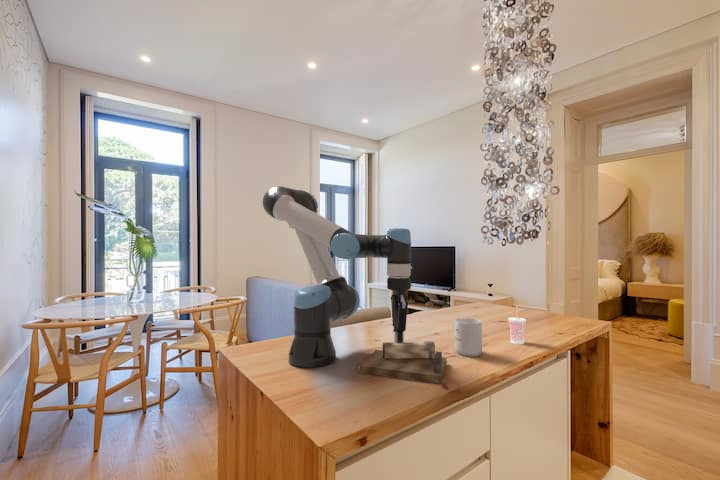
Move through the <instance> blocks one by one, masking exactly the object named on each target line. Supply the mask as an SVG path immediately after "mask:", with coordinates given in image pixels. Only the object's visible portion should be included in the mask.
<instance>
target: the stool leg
mask: <svg viewBox="0 0 720 480" xmlns="http://www.w3.org/2000/svg"><path fill="white" fill-rule="evenodd" d="M382 350H383V358H434V356H435V354H436V345H435V342H434V341H431V340H426V341H425V340H424V341H423V342H417V341H415V342H412V341H411V342H407V341H405V342H398V343H394V342H382Z"/></svg>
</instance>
